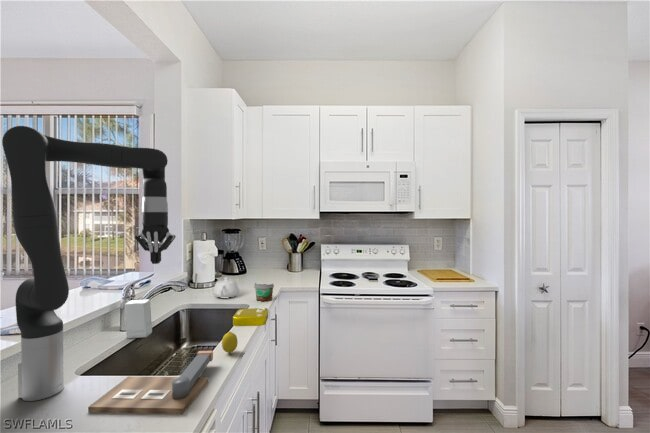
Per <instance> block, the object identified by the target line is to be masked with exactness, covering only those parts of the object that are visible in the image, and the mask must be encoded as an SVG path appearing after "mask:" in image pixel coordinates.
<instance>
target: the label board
mask: <svg viewBox="0 0 650 433" xmlns="http://www.w3.org/2000/svg"><path fill="white" fill-rule="evenodd" d="M179 377H180V376H179ZM179 377H178V376H127V377H125V378H124V379H123V380H122V381H120V382H119V383H118V384H116V385H115V386H114V387H113V388H111V389H110V390H109V391H107V392H106V393H105V394H103V395H102V396H101V397H99V398H98V399H96V400H95V401H94V402H93V403H92V404H90V405H89V406H87V408H88V409H87V410H88V412H87V413H88V414H91V413H93V414H136V415H137V414H138V415H141V414H142V415H143V414H145V415H148V414H149V415H150V414H151V415H152V414H153V415H185V413H186V411H187V410H188V409H189V408H190V406H191V405H192V404H193V402H194V401H195V400H196V399H197V397H198V396H199V395H200V394H201V392H202V391H203V390H204V389H205V387H206V386H207V385H208V384H209V377H202V376H201V377H200V376H199V378H198V379H197V381H196V382H195V384H194V385H193V386H192V388H191V389H190V394H189V395H188V396H186V397H184V398H180V399H175V398H173V397H172V381H173V380H175V379H177V378H179Z"/></svg>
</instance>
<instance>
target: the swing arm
mask: <svg viewBox="0 0 650 433" xmlns="http://www.w3.org/2000/svg"><path fill="white" fill-rule="evenodd" d="M213 359H214V351H213V350H199V351H197V353H196V356H195V357H194V359H192V361H191V362H190V363H189V364H188V365H187V367H186V368H185V370H183V372H182V373H181V374H180V375H179V378H177V379H175V380H173V381H172V397H173V398H175V399H180V398H184V397H186V396H188V395H189V394H190V389H191V388H192V386H193V385H194V384H195V382H196V381H197V379H198V378H199V377H200V376H201V375H202V373H203V372H204V370H205V369H206V368H207V366H208V365H209V364H210V362H212V361H213Z"/></svg>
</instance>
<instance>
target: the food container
mask: <svg viewBox="0 0 650 433" xmlns="http://www.w3.org/2000/svg"><path fill="white" fill-rule="evenodd" d="M274 287H275V285H274V283H271V284H267V283H263V284H258V283H257V282H255V283H254V286H253V288H254V289H255V300H256V301H257V302H258V301H261V302H260V303H268V302H271V301H273V291H274Z"/></svg>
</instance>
